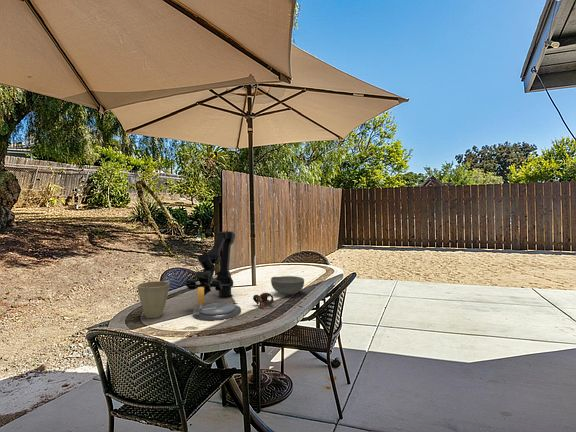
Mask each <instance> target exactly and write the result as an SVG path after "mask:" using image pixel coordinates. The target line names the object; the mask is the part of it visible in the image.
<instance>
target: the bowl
mask: <svg viewBox="0 0 576 432" xmlns="http://www.w3.org/2000/svg"><path fill="white" fill-rule="evenodd" d="M270 284H271V286H272V289H273V290H274V291H275V292H276V293H278V294H280V295H284V296H292V295H295V294H298V293H299V292H300V291H302V289H303V288H304V285H305V279H304V278H303V277H300V276H297V275H296V276H293V275H287V276H285V275H283V276H272V277H271V278H270Z"/></svg>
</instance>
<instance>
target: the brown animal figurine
mask: <svg viewBox="0 0 576 432" xmlns="http://www.w3.org/2000/svg"><path fill="white" fill-rule="evenodd" d="M269 297H270V298H271V299H270V300H269V299H268V298H269ZM252 300H253V302H255V303H256V305H260V308H261V309H264V308H266V307H270V306H272V305H273V304H274V303H275V300H274V296H273V294H271V293H270V292H262V293H261V294H254V295H253V296H252Z"/></svg>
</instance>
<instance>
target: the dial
mask: <svg viewBox="0 0 576 432" xmlns="http://www.w3.org/2000/svg"><path fill="white" fill-rule="evenodd" d="M196 291H197V292H196V293H197V305H199V307H200V308H199V313H200V314H203V315H210V316H215V315H224V314H228V313H231V312H233V311H234V310H235V306H234V305H235V304H234V303H229V302H212V303H207V304H205V296H204V287H198V288H196ZM204 304H205V305H204Z"/></svg>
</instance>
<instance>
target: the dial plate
mask: <svg viewBox="0 0 576 432" xmlns="http://www.w3.org/2000/svg"><path fill="white" fill-rule="evenodd" d="M233 305H234V306H235V310H234V311H233V312H231V313H228V314H224V315H215V316H210V315H203V314H200V313H199V308H200V306H198V307H196V308H195V309H193V310H192V317H193V318H194V319H196V320H198V319H199V321H203V322H204V321H205V322H206V321H207V322H215V321H214V320H219V321H225V320H224V319H226V320H230V319H233V317H234V318H236V317H238V316H239V315H241V313H242V308H241V307H240V306H239V305H236V304H233ZM229 318H230V319H229Z"/></svg>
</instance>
